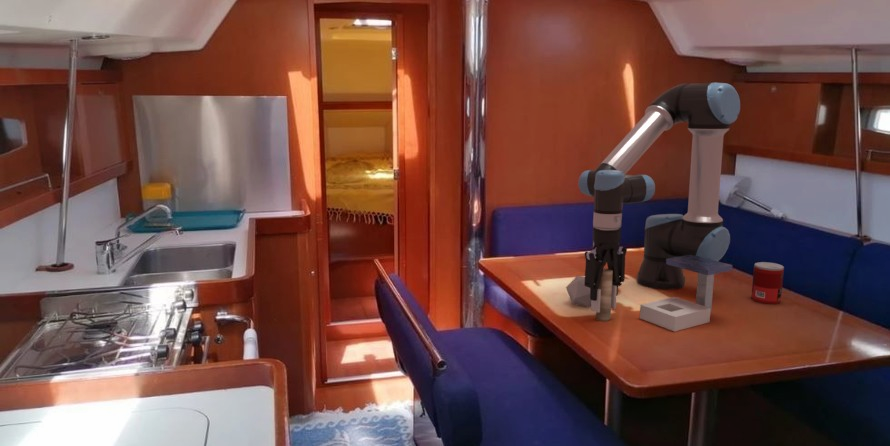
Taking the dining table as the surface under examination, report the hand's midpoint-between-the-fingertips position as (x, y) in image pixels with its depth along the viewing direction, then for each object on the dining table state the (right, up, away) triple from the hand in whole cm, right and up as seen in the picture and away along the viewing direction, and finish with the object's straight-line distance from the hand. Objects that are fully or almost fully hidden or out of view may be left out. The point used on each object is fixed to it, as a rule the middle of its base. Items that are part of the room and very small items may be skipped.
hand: (603, 309), depth 177 cm
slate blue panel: (+27, -2, +3) cm, 27 cm away
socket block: (+19, -3, -1) cm, 20 cm away
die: (-3, 0, +14) cm, 14 cm away
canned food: (+53, 0, +16) cm, 56 cm away
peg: (0, -3, +1) cm, 3 cm away
